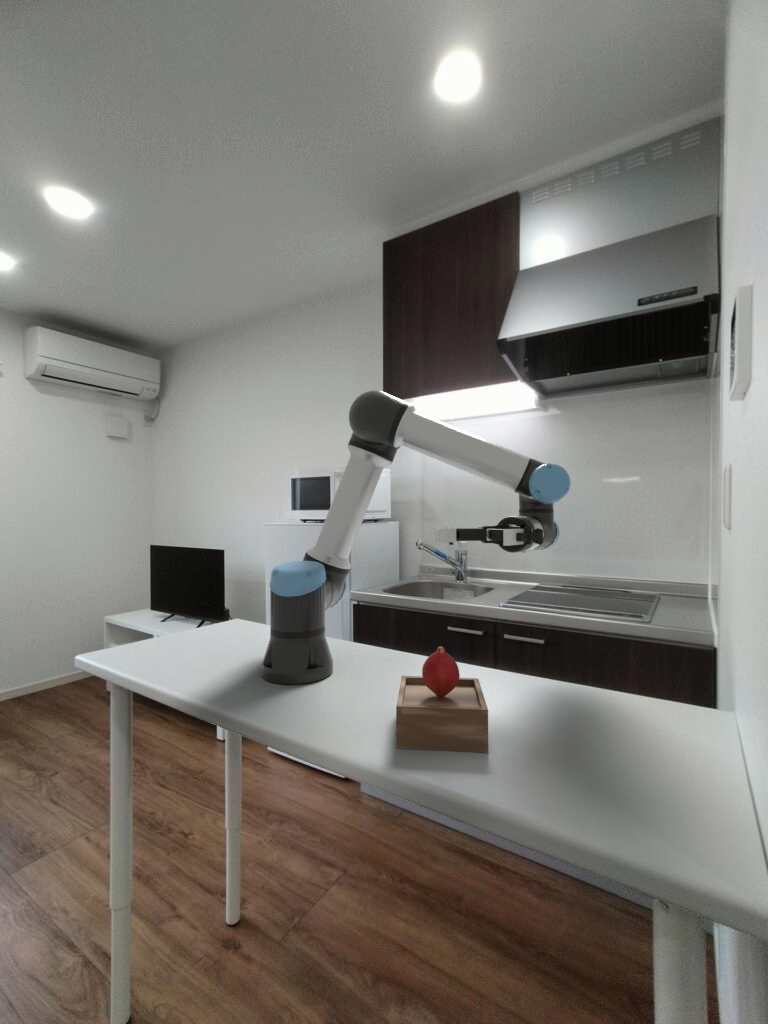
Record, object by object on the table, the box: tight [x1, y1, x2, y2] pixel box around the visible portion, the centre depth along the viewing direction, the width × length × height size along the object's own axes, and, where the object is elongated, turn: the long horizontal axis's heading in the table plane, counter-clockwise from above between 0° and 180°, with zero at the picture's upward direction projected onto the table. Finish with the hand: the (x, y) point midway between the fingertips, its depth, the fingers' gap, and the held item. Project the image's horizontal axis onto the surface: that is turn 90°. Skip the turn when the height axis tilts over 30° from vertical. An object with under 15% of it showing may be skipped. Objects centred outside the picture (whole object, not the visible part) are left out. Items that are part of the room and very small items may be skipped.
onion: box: [421, 646, 461, 698], centre depth 71 cm, size 6×6×8 cm
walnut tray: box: [395, 675, 489, 754], centre depth 71 cm, size 13×13×6 cm
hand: (468, 536), depth 79 cm, fingers open, 13 cm apart
